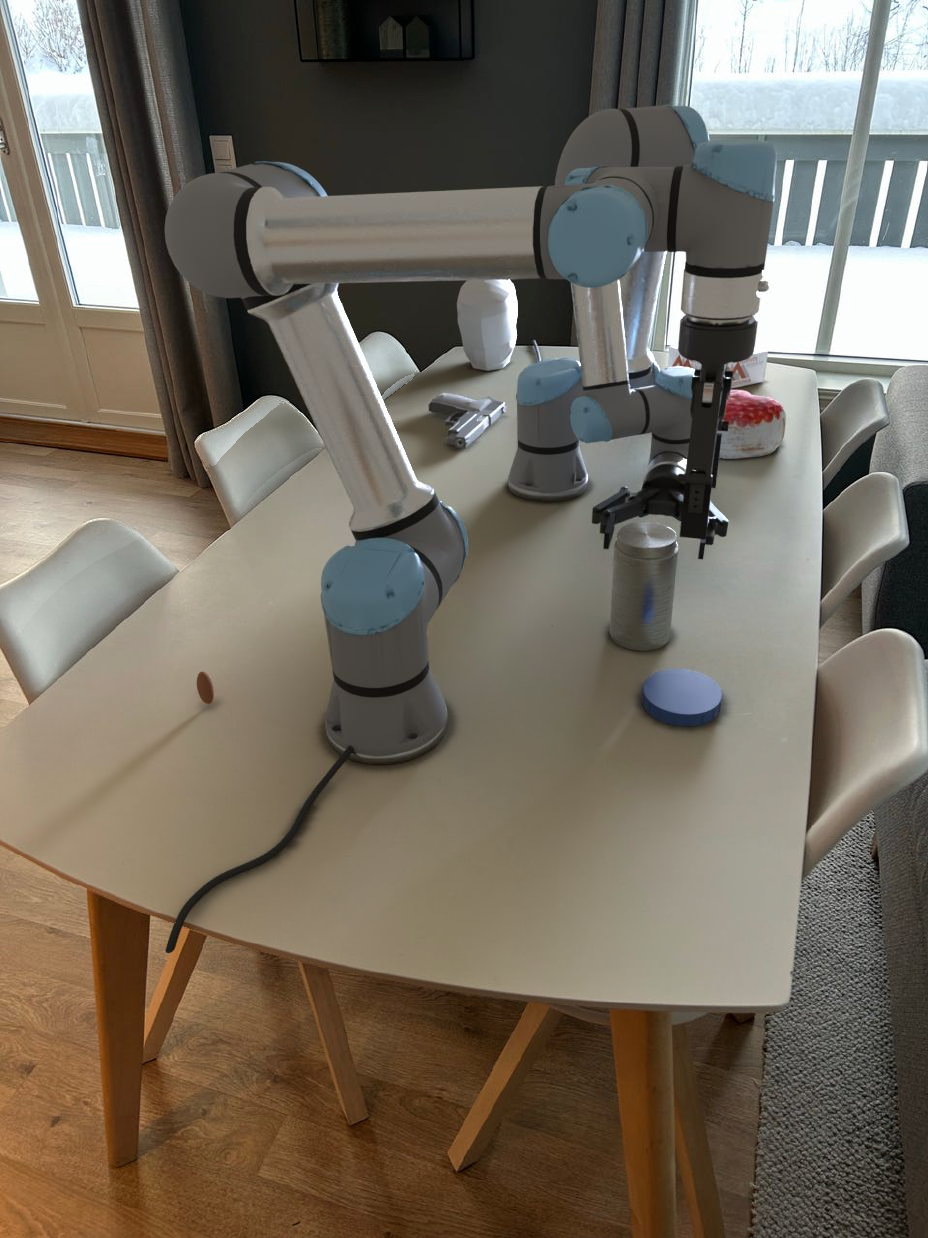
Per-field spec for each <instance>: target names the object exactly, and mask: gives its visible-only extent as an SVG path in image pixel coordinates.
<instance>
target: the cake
mask: <svg viewBox="0 0 928 1238" xmlns="http://www.w3.org/2000/svg"><path fill="white" fill-rule="evenodd" d="M722 421H728V422H729V427H728V431H717V433H722V439H721V447H720V456H719V459H729V460H736V459H747V458H755V457H756V458H757V457H764V456H766V455H770V454H771V453H773V452H775V451H776V450H777V448H779V447H780V446H781V444H782V442H783V439H784V437H785V431H786V425H787V414H786V411H785V409H784V407H783V405H782V404H781V403H780V402H779V401H778V400H776V399H775V398H773V397H769V396H762V395H756V394H752V393H751V392H749V391H747V390H743V389H731V392H730V395H729V397H728V400H727V402H726V410H725V417H724V419H723V420H722Z"/></svg>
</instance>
